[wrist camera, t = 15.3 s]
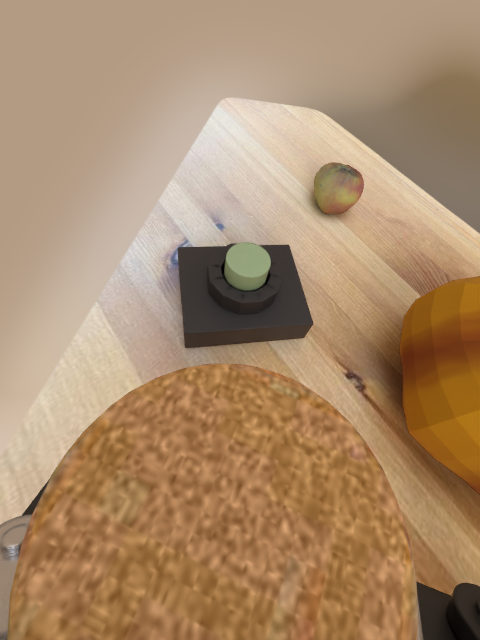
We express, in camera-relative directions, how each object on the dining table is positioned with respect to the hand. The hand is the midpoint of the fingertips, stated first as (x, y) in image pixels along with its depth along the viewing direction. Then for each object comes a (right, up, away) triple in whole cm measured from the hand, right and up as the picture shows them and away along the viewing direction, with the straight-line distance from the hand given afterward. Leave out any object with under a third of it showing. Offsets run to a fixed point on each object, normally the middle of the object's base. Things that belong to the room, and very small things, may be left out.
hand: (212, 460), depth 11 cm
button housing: (+1, +7, +22) cm, 23 cm away
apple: (+13, +20, +32) cm, 40 cm away
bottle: (-1, -6, +6) cm, 8 cm away
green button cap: (+1, +9, +18) cm, 21 cm away
